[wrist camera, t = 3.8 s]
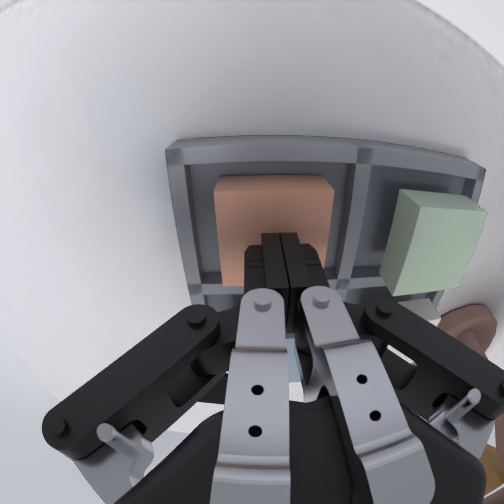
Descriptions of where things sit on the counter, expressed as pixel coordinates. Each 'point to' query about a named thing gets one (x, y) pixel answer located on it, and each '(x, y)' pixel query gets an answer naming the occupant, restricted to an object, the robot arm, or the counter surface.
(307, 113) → the counter surface
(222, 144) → the keypad
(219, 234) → the terracotta key
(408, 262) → the sage key
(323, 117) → the counter surface
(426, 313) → the cream key
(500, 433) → the hourglass
